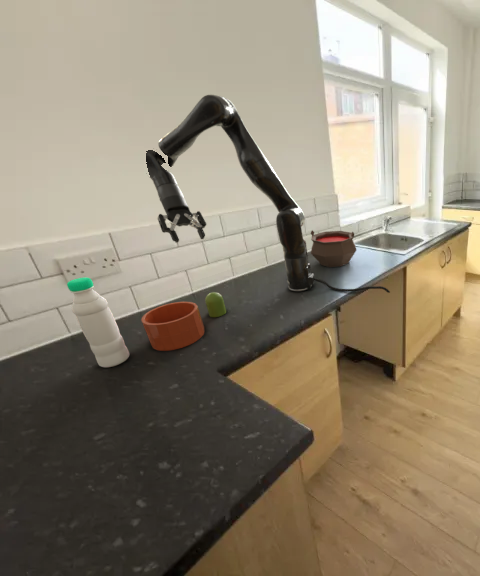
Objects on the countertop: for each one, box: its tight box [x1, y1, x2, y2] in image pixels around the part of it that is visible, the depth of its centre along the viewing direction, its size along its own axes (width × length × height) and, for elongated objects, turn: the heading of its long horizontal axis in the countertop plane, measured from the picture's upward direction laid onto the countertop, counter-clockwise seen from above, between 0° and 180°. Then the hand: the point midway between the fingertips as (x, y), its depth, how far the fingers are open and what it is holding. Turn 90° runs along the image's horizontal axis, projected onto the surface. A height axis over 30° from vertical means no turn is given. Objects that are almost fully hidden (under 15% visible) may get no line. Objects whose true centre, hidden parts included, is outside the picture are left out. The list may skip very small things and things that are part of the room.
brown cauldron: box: [310, 229, 357, 268], centre depth 158 cm, size 24×24×16 cm
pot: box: [140, 301, 205, 352], centre depth 99 cm, size 15×15×9 cm
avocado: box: [204, 291, 227, 318], centre depth 113 cm, size 6×6×8 cm
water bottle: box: [66, 276, 130, 368], centre depth 85 cm, size 7×7×25 cm
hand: (190, 239), depth 115 cm, fingers open, 8 cm apart
